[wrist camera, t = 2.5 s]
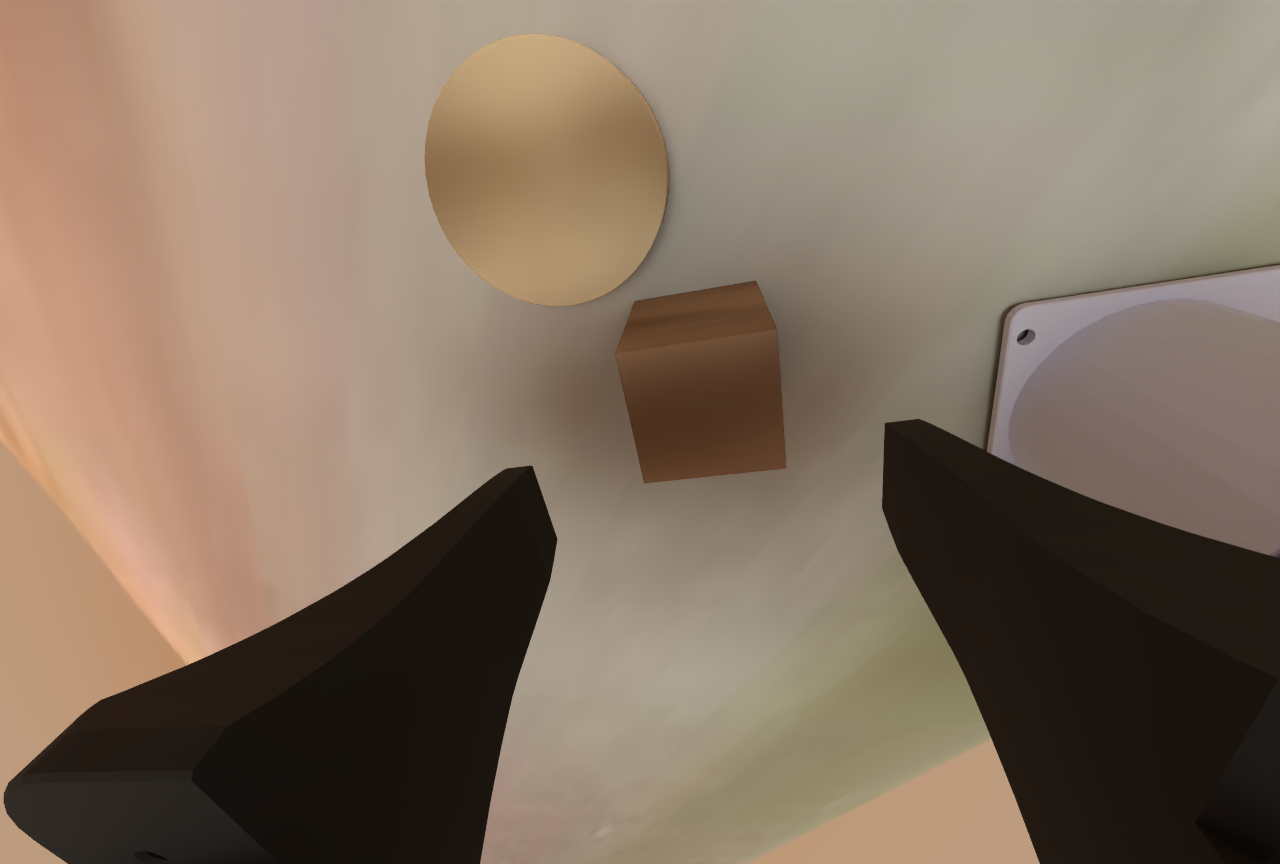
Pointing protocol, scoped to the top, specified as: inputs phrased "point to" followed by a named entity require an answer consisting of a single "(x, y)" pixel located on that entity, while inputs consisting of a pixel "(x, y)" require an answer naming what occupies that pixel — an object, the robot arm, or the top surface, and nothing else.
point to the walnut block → (703, 384)
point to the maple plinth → (546, 169)
